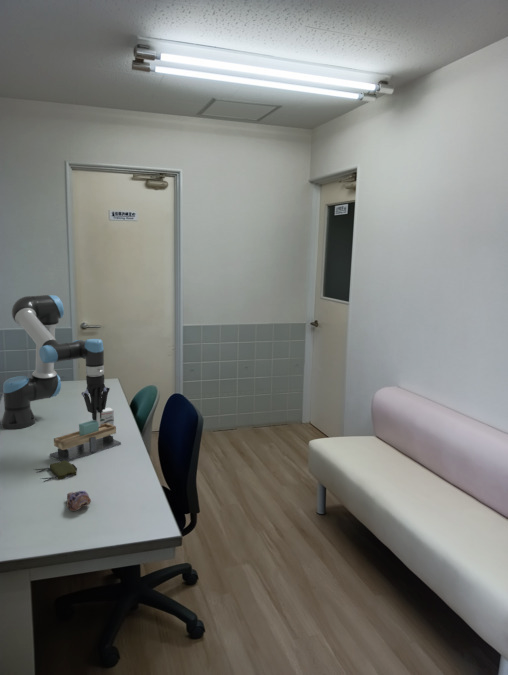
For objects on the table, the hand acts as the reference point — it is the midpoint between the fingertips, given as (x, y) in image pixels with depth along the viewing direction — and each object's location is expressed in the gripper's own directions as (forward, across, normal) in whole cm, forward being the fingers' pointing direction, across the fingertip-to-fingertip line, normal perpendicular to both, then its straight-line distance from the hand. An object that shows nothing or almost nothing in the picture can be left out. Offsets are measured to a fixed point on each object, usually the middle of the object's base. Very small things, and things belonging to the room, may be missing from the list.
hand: (97, 426), depth 224 cm
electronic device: (+10, -26, -12) cm, 31 cm away
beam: (+3, -6, 0) cm, 7 cm away
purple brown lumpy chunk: (+10, -35, -40) cm, 54 cm away
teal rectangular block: (+2, -4, 0) cm, 5 cm away
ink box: (+10, +11, +12) cm, 19 cm away
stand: (+9, -6, 0) cm, 11 cm away
